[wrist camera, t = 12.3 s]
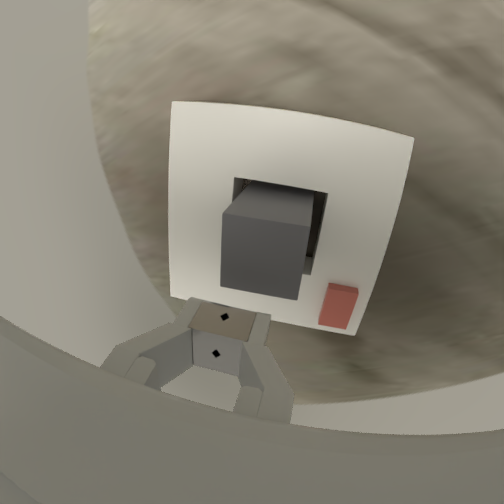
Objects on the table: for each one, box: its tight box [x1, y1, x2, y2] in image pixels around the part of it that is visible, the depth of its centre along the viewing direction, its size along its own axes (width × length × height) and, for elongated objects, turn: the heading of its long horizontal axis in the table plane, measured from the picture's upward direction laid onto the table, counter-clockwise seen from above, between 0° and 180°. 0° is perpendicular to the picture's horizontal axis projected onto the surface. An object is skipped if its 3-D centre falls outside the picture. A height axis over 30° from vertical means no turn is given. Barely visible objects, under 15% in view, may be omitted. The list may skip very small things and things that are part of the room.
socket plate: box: [168, 101, 414, 336], centre depth 19 cm, size 14×14×3 cm
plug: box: [220, 180, 314, 301], centre depth 18 cm, size 4×4×7 cm
